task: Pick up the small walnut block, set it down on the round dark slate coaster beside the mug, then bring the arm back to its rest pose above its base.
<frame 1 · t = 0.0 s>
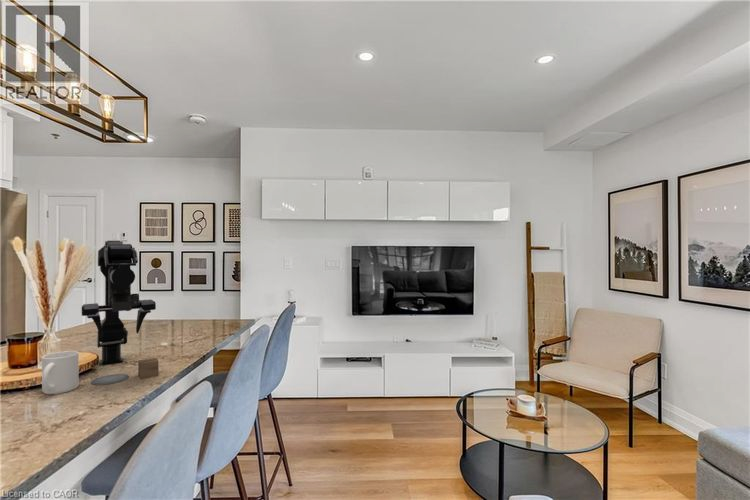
hand: (119, 335, 118), 15 cm above the kitchen island, fingers open, 9 cm apart
slate coaster: (110, 379, 121), on the kitchen island
mug: (56, 392, 111), on the kitchen island
walnut block: (148, 375, 125), on the kitchen island
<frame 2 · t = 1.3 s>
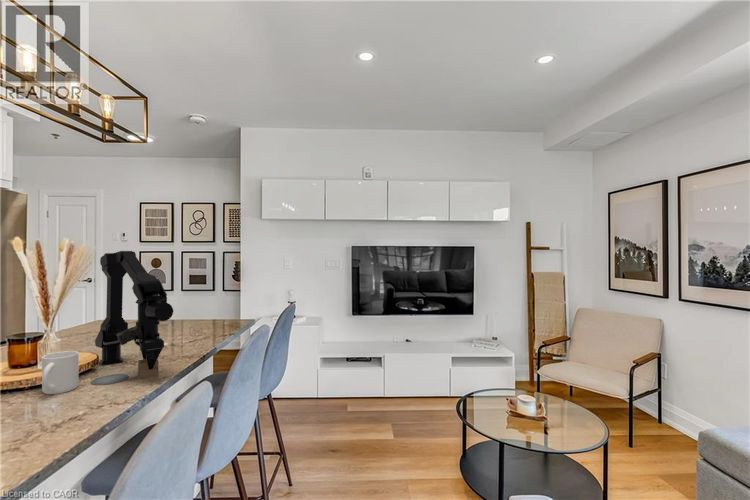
hand: (148, 365, 125), 3 cm above the kitchen island, fingers open, 9 cm apart
nothing on the kitchen island moved.
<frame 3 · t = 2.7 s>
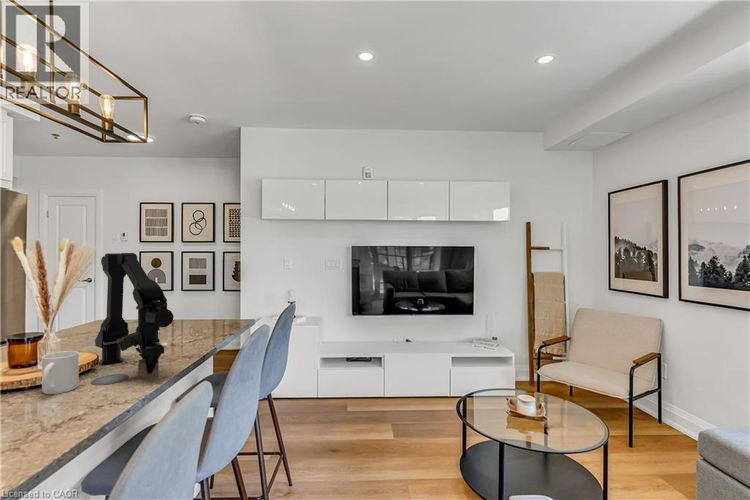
hand: (148, 371, 125), 1 cm above the kitchen island, fingers closed on walnut block, 5 cm apart
walnut block: (148, 375, 125), on the kitchen island, touching gripper
everything else where it was.
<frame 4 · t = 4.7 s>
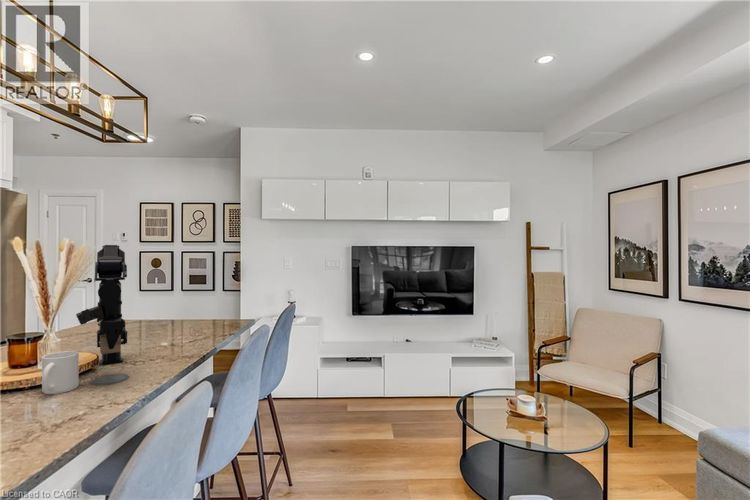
hand: (110, 347, 121), 10 cm above the kitchen island, fingers closed on walnut block, 5 cm apart
walnut block: (110, 351, 121), point 9 cm above the kitchen island, touching gripper
everything else where it was.
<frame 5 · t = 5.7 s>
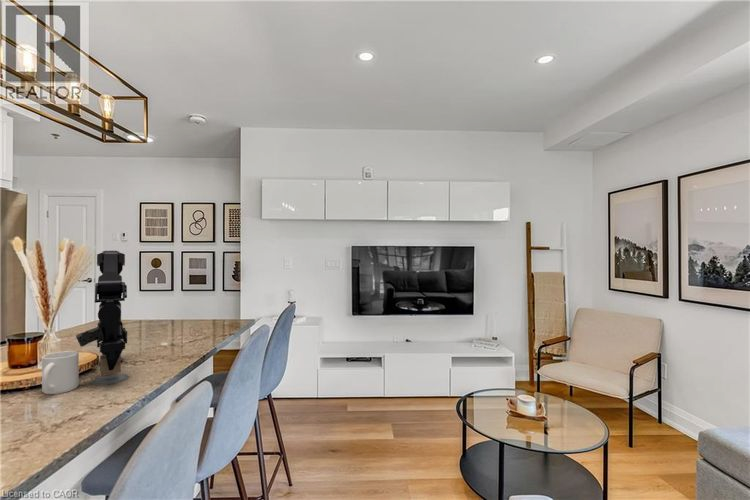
hand: (110, 368, 121), 4 cm above the kitchen island, fingers closed on walnut block, 5 cm apart
walnut block: (110, 371, 121), point 2 cm above the kitchen island, touching gripper
everything else where it was.
when the fingers open (2 cm above the kitchen island, at t = 6.8 s): walnut block drops 1 cm, resting on slate coaster.
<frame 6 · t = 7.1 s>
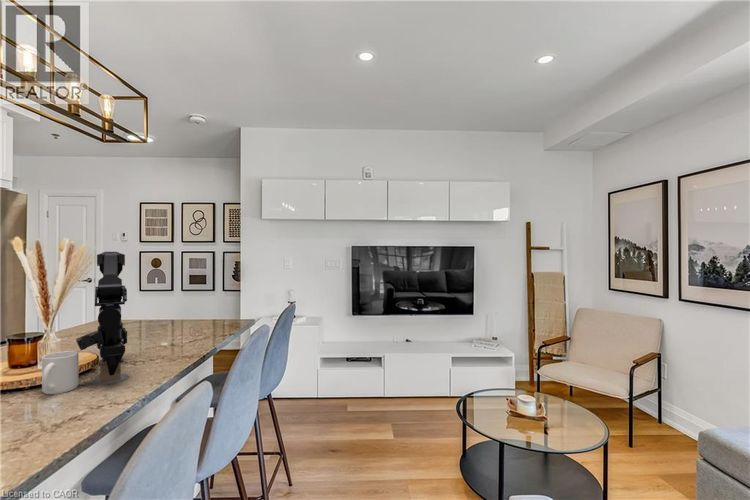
hand: (110, 371, 121), 2 cm above the kitchen island, fingers open, 9 cm apart
walnut block: (110, 379, 121), resting on slate coaster
everything else where it was.
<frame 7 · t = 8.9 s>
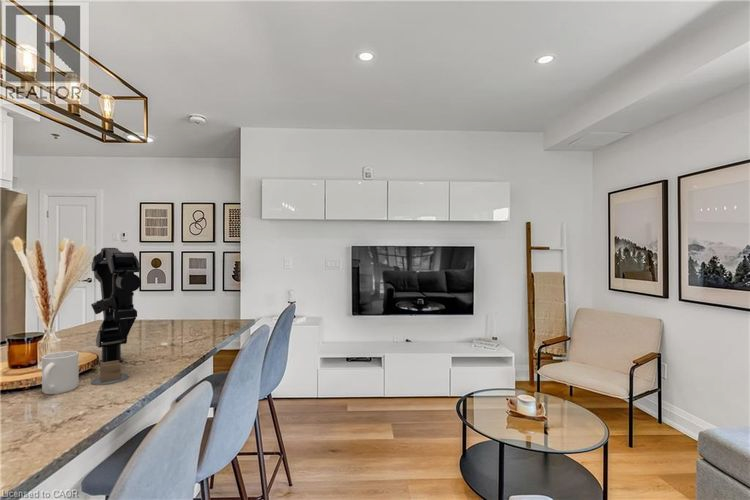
hand: (122, 335, 129), 12 cm above the kitchen island, fingers open, 9 cm apart
nothing on the kitchen island moved.
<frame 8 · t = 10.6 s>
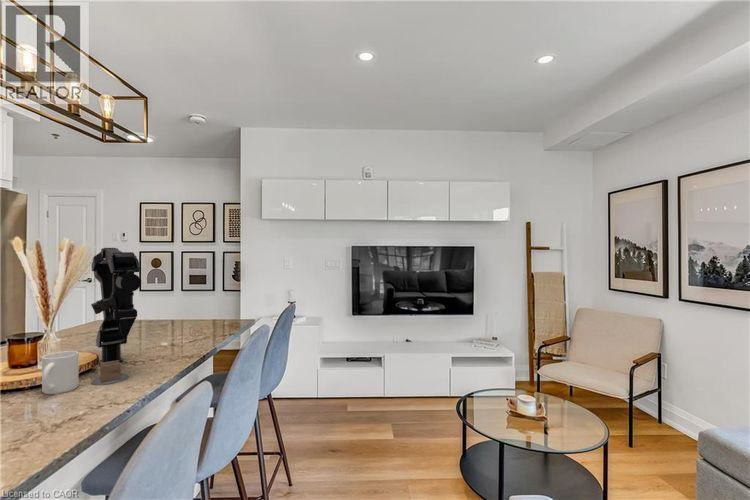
hand: (122, 335, 129), 12 cm above the kitchen island, fingers open, 9 cm apart
nothing on the kitchen island moved.
at the end: walnut block 0.1 cm from the slate coaster (horizontally); walnut block resting on slate coaster; the gripper is holding nothing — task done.
